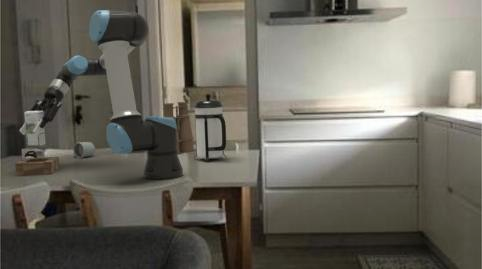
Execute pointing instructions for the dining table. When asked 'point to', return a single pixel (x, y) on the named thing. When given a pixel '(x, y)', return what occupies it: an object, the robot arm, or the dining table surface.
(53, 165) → the holder block
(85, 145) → the grey cylinder
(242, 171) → the dining table surface
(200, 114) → the coffee press
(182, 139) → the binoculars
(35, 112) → the syrup box
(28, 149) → the mug
